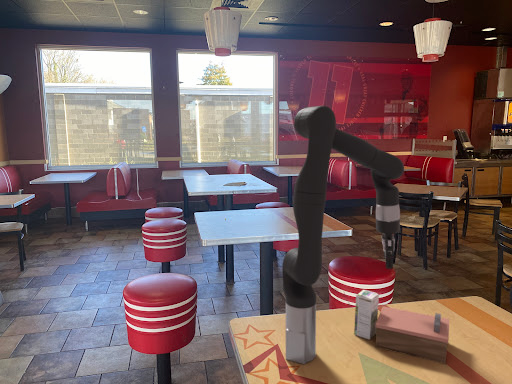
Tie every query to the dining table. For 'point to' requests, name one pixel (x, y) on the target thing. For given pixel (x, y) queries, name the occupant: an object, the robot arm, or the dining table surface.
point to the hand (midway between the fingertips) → (388, 263)
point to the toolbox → (411, 345)
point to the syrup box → (366, 314)
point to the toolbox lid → (414, 324)
